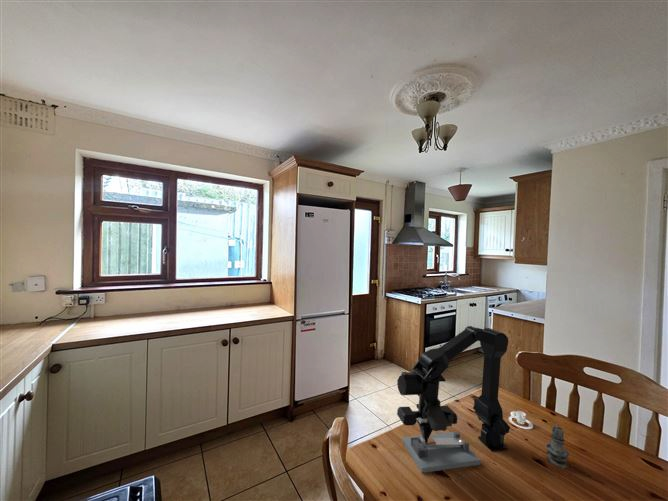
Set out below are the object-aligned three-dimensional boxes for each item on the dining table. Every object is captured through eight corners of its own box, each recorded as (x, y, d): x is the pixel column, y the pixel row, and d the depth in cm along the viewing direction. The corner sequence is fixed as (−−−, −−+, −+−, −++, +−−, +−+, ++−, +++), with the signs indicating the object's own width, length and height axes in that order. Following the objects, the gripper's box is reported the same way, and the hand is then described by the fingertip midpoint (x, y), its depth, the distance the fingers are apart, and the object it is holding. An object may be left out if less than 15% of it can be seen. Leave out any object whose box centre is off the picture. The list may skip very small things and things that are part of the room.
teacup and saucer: (509, 413, 111) (509, 404, 111) (532, 421, 106) (533, 411, 106) (508, 424, 103) (508, 414, 103) (533, 433, 99) (533, 422, 99)
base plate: (454, 435, 96) (454, 424, 96) (480, 464, 83) (480, 451, 83) (402, 441, 92) (403, 430, 92) (421, 472, 79) (421, 459, 79)
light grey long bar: (460, 441, 91) (460, 435, 91) (466, 448, 88) (466, 441, 88) (419, 442, 88) (420, 435, 88) (423, 448, 85) (424, 442, 85)
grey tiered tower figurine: (573, 470, 82) (574, 431, 82) (552, 466, 83) (553, 428, 83) (561, 455, 88) (562, 419, 88) (541, 452, 89) (542, 417, 89)
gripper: (414, 408, 77) (410, 462, 77) (470, 407, 81) (466, 458, 80) (398, 388, 88) (394, 435, 88) (448, 388, 92) (445, 433, 91)
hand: (425, 440), depth 87 cm, fingers closed
